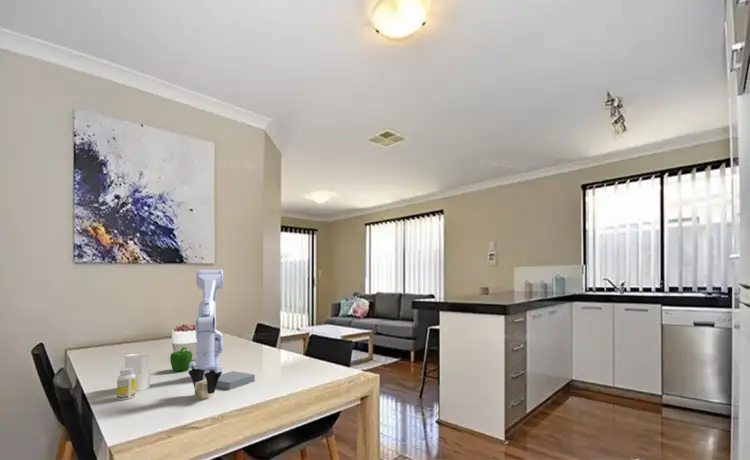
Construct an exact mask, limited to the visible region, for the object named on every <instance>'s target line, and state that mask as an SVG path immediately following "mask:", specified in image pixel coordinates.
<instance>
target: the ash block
mask: <svg viewBox="0 0 750 460" xmlns="http://www.w3.org/2000/svg"><path fill="white" fill-rule="evenodd" d="M215 392H216V391H215ZM215 392H214V393H211V394H208V387H207V380H202V381H199V382H196V383H195V388H194V398H195V399H200V400H207V399H208V398H212V397H215V396H214V395H216V393H215Z"/></svg>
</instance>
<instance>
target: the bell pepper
mask: <svg viewBox="0 0 750 460" xmlns="http://www.w3.org/2000/svg"><path fill="white" fill-rule="evenodd" d="M187 349H188V347H186V346H184V347H181V349H180V350H178V351H175V352H172V353H171V354H170V359H169V360H170V364H171V369H172V371H174V372H185V371H189V369H190V368H189V363H191V362H193V361H192V360H193V354H192V351H190V350H187Z"/></svg>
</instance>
